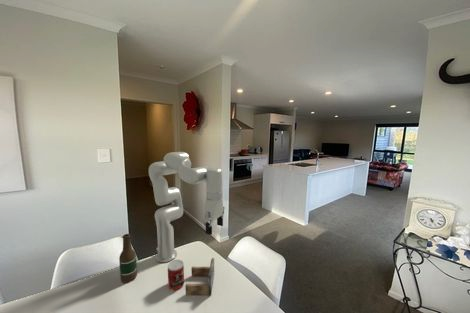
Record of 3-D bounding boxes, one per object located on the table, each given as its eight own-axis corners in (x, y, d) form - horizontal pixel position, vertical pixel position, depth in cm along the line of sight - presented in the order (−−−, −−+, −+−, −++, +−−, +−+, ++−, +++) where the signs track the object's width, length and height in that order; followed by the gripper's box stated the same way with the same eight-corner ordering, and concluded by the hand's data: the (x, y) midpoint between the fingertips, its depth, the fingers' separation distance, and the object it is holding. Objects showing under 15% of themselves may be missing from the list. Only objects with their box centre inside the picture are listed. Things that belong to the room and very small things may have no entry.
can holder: (185, 295, 91) (185, 275, 90) (192, 275, 105) (191, 257, 104) (211, 295, 91) (211, 275, 90) (214, 275, 105) (214, 257, 104)
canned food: (169, 293, 93) (168, 271, 92) (167, 282, 100) (166, 262, 99) (185, 287, 96) (185, 266, 95) (182, 277, 103) (181, 257, 102)
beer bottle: (117, 281, 101) (114, 237, 98) (130, 271, 108) (127, 230, 106) (127, 285, 98) (125, 240, 95) (140, 275, 105) (138, 232, 103)
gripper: (217, 189, 101) (217, 221, 102) (196, 198, 85) (197, 235, 87) (230, 191, 97) (230, 223, 99) (210, 201, 82) (211, 239, 84)
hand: (214, 229), depth 93 cm, fingers open, 9 cm apart
